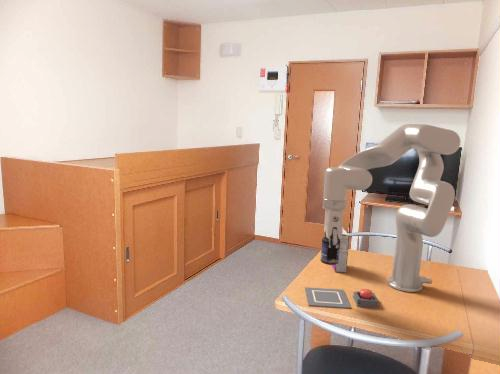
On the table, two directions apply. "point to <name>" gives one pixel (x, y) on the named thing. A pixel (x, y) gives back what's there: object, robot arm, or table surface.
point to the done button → (366, 294)
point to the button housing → (365, 300)
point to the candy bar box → (342, 253)
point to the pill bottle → (324, 251)
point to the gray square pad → (327, 298)
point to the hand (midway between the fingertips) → (330, 255)
